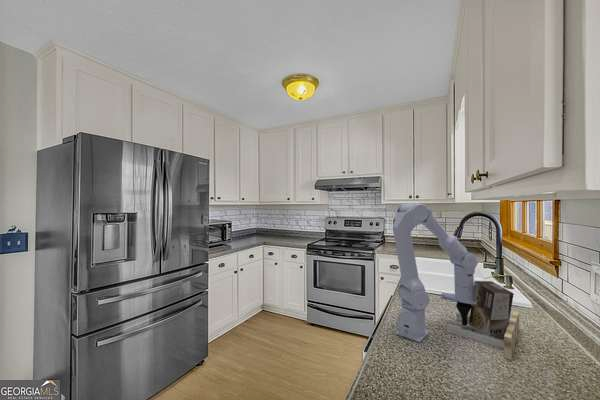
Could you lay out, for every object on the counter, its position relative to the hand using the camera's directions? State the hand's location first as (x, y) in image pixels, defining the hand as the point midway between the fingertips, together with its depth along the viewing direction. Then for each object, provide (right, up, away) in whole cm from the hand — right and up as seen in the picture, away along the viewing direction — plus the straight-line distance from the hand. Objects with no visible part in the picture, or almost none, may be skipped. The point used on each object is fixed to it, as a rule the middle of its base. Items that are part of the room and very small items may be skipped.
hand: (464, 324), depth 89 cm
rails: (+3, -1, -3) cm, 4 cm away
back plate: (+9, -1, -9) cm, 13 cm away
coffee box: (+4, -1, -4) cm, 6 cm away
